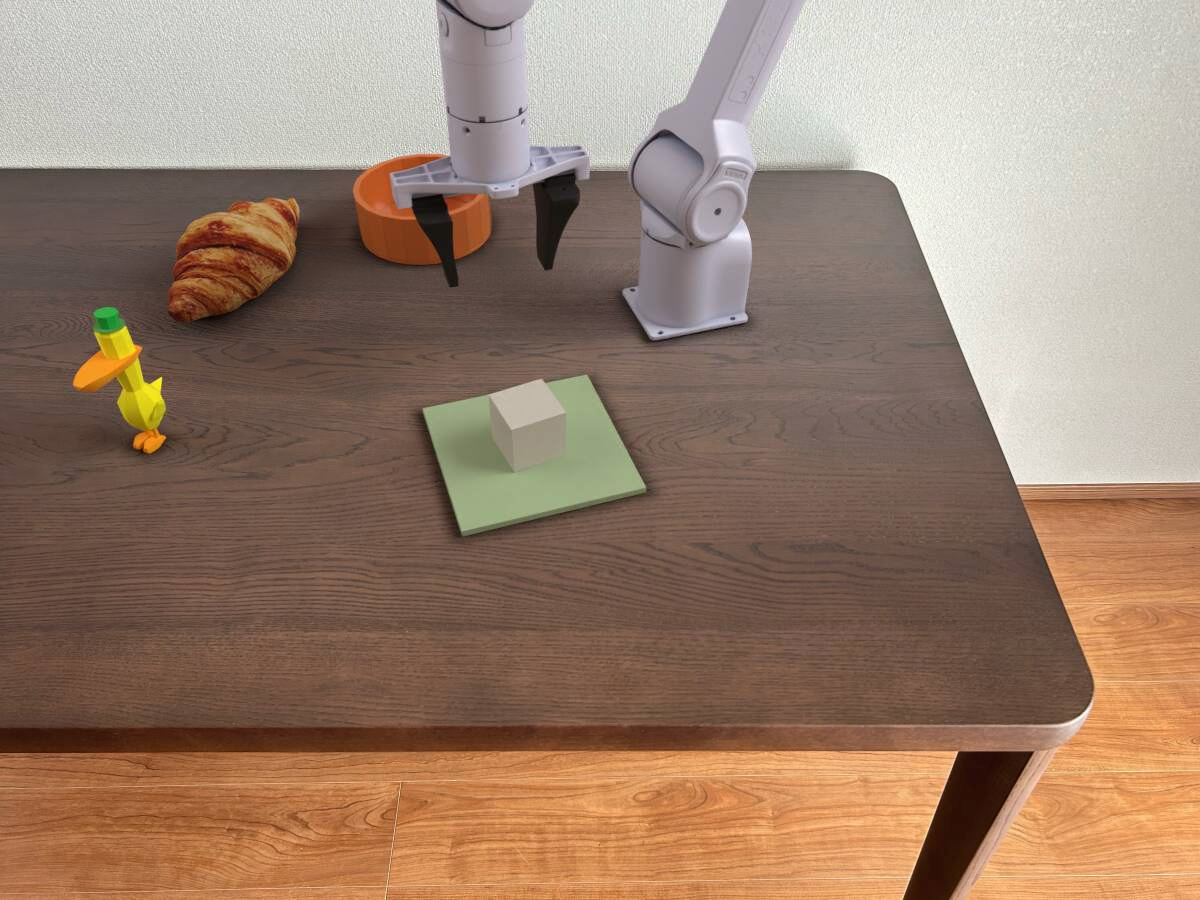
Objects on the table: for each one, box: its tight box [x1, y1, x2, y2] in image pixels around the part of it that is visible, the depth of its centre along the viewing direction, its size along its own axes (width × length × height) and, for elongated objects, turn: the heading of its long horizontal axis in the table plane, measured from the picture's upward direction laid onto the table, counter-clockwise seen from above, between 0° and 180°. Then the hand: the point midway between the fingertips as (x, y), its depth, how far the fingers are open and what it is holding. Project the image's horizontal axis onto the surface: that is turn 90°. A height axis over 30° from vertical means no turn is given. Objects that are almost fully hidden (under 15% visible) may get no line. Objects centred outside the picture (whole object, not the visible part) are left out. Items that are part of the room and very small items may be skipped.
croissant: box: [166, 197, 301, 323], centre depth 91 cm, size 21×10×8 cm, turn 166°
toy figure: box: [72, 306, 167, 455], centre depth 71 cm, size 7×4×12 cm, turn 157°
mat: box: [422, 374, 647, 538], centre depth 75 cm, size 14×14×1 cm
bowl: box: [352, 153, 493, 266], centre depth 97 cm, size 13×13×5 cm
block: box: [488, 378, 567, 473], centre depth 73 cm, size 4×4×4 cm
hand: (498, 271), depth 77 cm, fingers open, 7 cm apart
